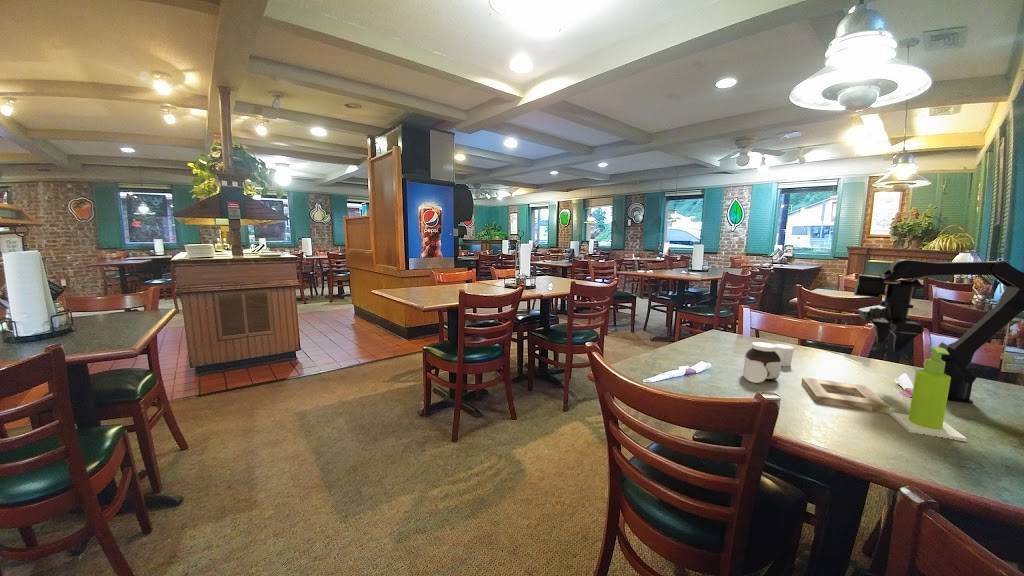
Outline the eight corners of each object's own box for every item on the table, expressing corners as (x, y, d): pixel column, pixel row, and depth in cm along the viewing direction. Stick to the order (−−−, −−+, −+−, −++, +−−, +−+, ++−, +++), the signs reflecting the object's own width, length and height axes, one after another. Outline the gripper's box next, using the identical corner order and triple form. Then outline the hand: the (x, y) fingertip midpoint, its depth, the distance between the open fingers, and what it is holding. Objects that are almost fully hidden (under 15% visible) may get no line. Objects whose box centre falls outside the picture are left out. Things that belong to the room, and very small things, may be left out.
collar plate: (864, 391, 118) (865, 385, 117) (888, 413, 103) (889, 406, 103) (801, 383, 124) (802, 377, 124) (815, 402, 110) (816, 395, 110)
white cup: (797, 367, 140) (799, 348, 139) (778, 366, 140) (780, 348, 139) (784, 360, 146) (786, 343, 145) (766, 360, 147) (768, 343, 146)
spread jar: (773, 375, 131) (776, 342, 130) (787, 387, 121) (790, 352, 119) (734, 371, 135) (737, 340, 133) (744, 383, 124) (748, 349, 122)
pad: (941, 422, 98) (941, 419, 98) (966, 441, 89) (966, 438, 89) (890, 414, 102) (890, 412, 102) (909, 432, 93) (909, 429, 93)
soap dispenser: (914, 426, 95) (926, 349, 92) (905, 415, 100) (916, 342, 98) (948, 433, 91) (962, 353, 89) (937, 421, 97) (949, 346, 94)
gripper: (851, 292, 129) (843, 336, 132) (880, 302, 112) (870, 352, 115) (893, 295, 125) (884, 340, 128) (930, 306, 108) (918, 358, 111)
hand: (887, 347), depth 121 cm, fingers open, 9 cm apart
